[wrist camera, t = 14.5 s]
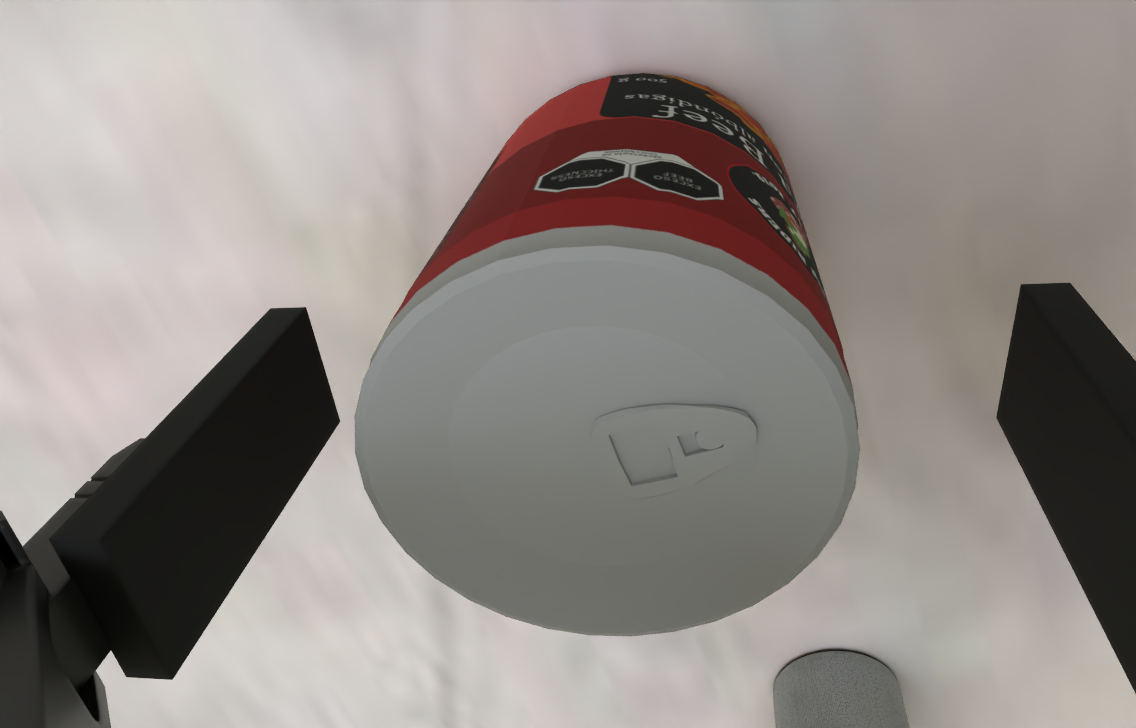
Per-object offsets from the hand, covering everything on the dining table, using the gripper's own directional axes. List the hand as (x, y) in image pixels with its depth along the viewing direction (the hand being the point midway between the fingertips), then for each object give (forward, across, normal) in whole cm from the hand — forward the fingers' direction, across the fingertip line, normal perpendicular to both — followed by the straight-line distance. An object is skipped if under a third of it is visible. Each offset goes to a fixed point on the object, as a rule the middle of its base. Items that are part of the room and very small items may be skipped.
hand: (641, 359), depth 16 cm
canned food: (+8, +1, 0) cm, 8 cm away
